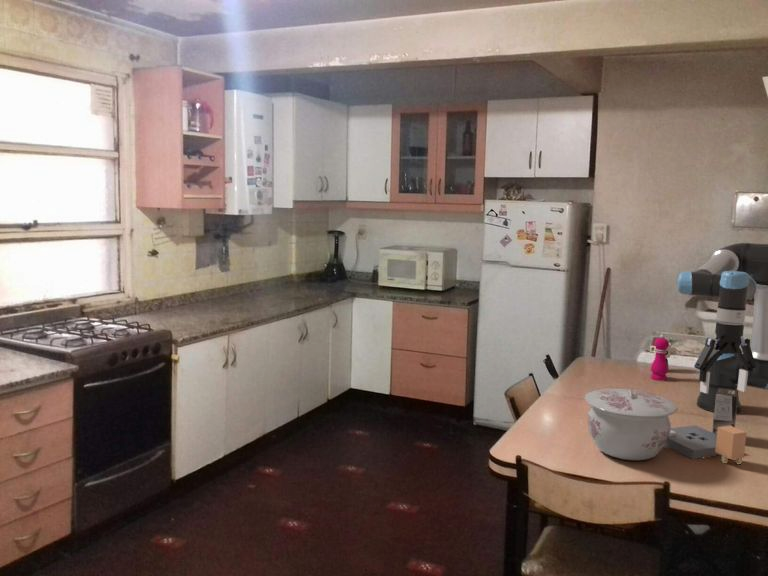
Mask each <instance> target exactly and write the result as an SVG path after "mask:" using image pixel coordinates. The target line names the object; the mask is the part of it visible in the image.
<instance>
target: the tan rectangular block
mask: <svg viewBox="0 0 768 576" xmlns="http://www.w3.org/2000/svg"><path fill="white" fill-rule="evenodd" d="M746 438H747V431H744V430H742V429H739V428H738V427H736V426H735V427H732V426H723V427H718V430H717V440H716V450H715V452H716V453H718V454H721V455H722V456H721V461H722V462H724V463H726V462H728V463H729V460H728V459H731V460H735V461H734V463H735V462H736V463H738V464H739V463H742V462H743V458H745V451H746ZM742 464H743V463H742Z"/></svg>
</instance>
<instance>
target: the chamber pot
mask: <svg viewBox="0 0 768 576" xmlns="http://www.w3.org/2000/svg"><path fill="white" fill-rule="evenodd" d="M583 400H584V401H585V402H586V403H587V404H588V405H589V406H590V408H589V409H588V415H587V424H588V425H587V426H588V432H589V435H590V436H591V438H592V440H593V442H594V444H595V445H596V447H597V448H598V449H599V450H600V451H601V452H602V453H604V454H606V455H608V456H610V457H613V458H616V459H619V460H625V461H635V462H636V461H646V460H650V459H652V458H654V457H656V455H658V453H660V451H661V450H662V449H663V447H664V446H665V444H666V443H667V440H668V437H669V434H670V429H671V428H672V427H671V426H672V422H671V419H670V417H669V416H671V415H674V414H675V413H676V412H677V411H678V407H677V404H675V403H674V402H673V401H671V399H670V400H669V399H668V398H666V397H663V396H661V395H658V394H655V393H651V392H646V391H642V390H638V389H632V388H602V389H596V390H592V391H589V392H588V393H586V394H585V395H584V399H583Z"/></svg>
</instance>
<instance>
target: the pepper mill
mask: <svg viewBox="0 0 768 576" xmlns="http://www.w3.org/2000/svg"><path fill="white" fill-rule="evenodd" d="M669 343H670V342H669V340H668V339H666V338H665V335H664V334H660V336H659V337H658V338H656V339H655V340H654V344H653V346H655V347H656V348H655V352H656V356H655V355H654V357H655V358H654V360H653V361H652V364H651V365H650V371H651V375H650V378H651V379H652V380H653V379H654V381H658V380H661V382H663V381H662V380H665V381H666V380H667V374H668V373H669V364H668V365H667V363H666V359H665V357H666V353H667V348H668V346H669Z"/></svg>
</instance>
